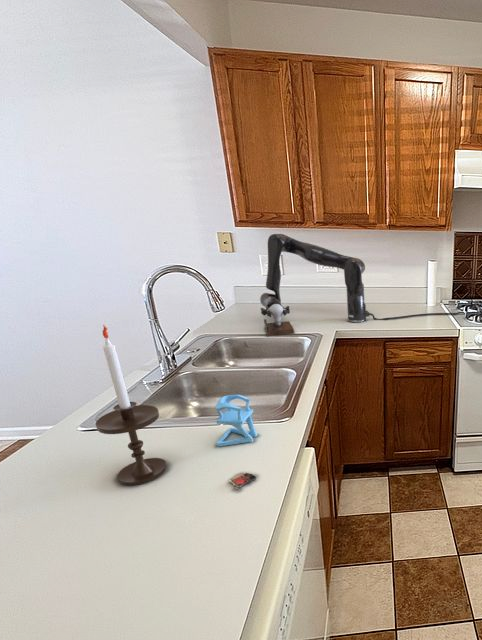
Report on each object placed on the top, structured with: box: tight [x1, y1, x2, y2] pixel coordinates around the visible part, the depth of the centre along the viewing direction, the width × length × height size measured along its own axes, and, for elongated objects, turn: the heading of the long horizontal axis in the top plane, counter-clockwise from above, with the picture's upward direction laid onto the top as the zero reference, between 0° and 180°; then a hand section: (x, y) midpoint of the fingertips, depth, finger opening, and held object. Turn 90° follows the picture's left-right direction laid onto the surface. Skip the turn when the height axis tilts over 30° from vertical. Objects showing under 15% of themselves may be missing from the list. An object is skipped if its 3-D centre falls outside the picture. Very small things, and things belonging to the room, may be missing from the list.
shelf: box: [263, 318, 295, 337], centre depth 195 cm, size 12×15×4 cm
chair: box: [214, 394, 258, 447], centre depth 102 cm, size 8×8×12 cm
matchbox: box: [229, 472, 257, 490], centre depth 88 cm, size 5×5×1 cm
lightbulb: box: [270, 304, 284, 326], centre depth 193 cm, size 6×6×11 cm
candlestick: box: [95, 324, 168, 487], centre depth 84 cm, size 11×11×35 cm
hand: (277, 314), depth 191 cm, fingers closed on lightbulb, 6 cm apart
